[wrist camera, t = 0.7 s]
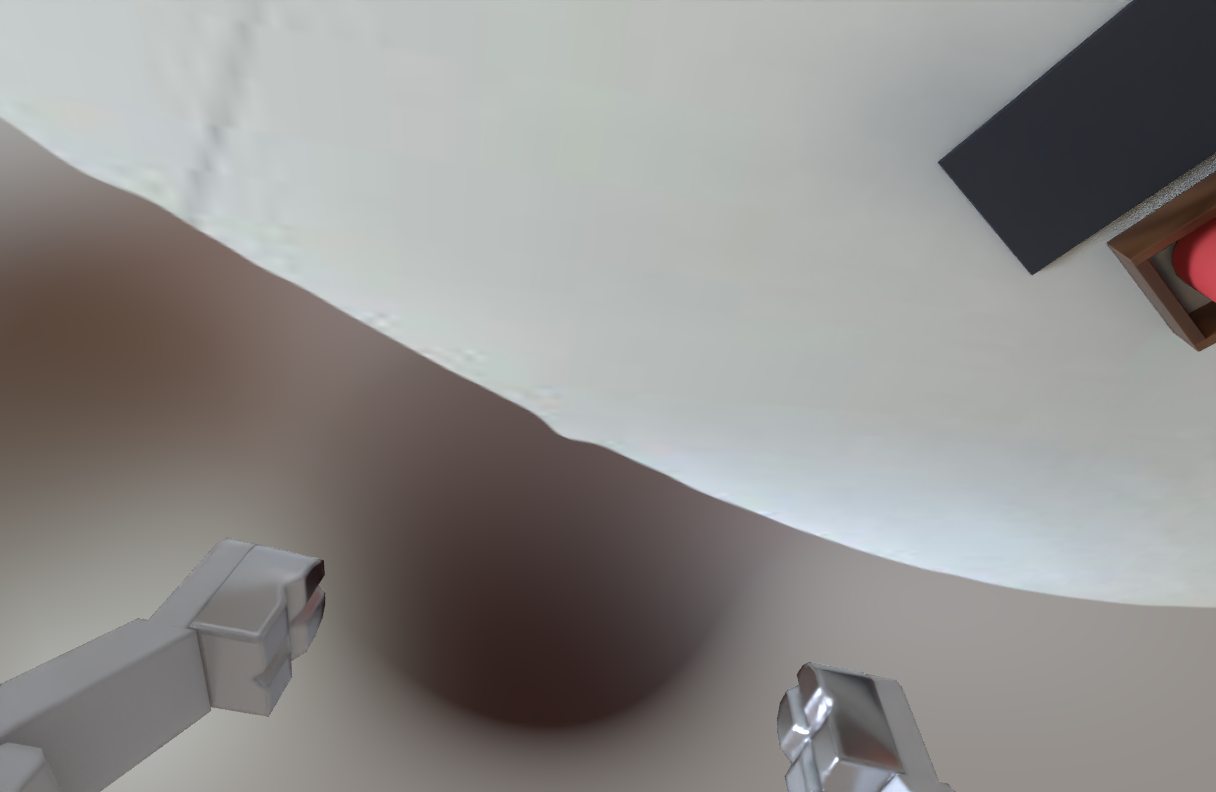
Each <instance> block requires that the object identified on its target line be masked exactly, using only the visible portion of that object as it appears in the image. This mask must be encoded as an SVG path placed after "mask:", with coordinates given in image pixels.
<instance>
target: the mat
mask: <svg viewBox="0 0 1216 792" xmlns="http://www.w3.org/2000/svg"><path fill="white" fill-rule="evenodd" d="M1215 152H1216V0H1133V1H1132V2H1131V3H1130V4H1128V5H1127V6H1126V7H1125V8H1124V9H1122V10H1121V11H1120V12H1119V13H1117V14H1116V15H1115V16H1114V17H1113V18H1111V19H1110V20H1109V21H1108V22H1107V23H1105V24H1104V25H1103V26H1102V27H1101V28H1099V29H1098V30H1097V31H1096V32H1095V33H1093V34H1092V35H1091V36H1090V37H1089V38H1087V39H1086V40H1085V41H1084V42H1082V43H1081V44H1080V45H1079V46H1078V47H1076V48H1075V49H1074V50H1073V51H1072V52H1070V53H1069V54H1068V55H1067V56H1066V57H1064V58H1063V59H1062V60H1061V61H1060V62H1058V63H1057V64H1056V65H1055V66H1054V67H1052V68H1051V69H1050V70H1049V71H1047V72H1046V73H1045V74H1044V75H1043V76H1041V77H1040V78H1039V79H1038V80H1037V81H1035V82H1034V83H1033V84H1032V85H1031V86H1029V87H1028V88H1027V89H1026V90H1025V91H1023V92H1022V93H1021V94H1020V95H1019V96H1017V97H1016V98H1015V99H1014V100H1012V101H1011V102H1010V103H1009V104H1008V105H1006V106H1005V107H1004V108H1003V109H1002V110H1000V111H999V112H998V113H997V114H996V115H994V116H993V117H992V118H991V119H990V120H988V121H987V122H986V123H985V124H984V125H982V126H981V127H980V128H979V129H978V130H976V131H975V132H974V133H973V134H971V135H970V136H969V137H968V138H967V139H965V140H964V141H963V142H962V143H961V144H959V145H958V146H957V147H956V148H955V149H953V150H952V151H951V152H950V153H949V154H947V155H946V156H945V157H944V158H943V159H941V160H940V161H939V162H938V163H939V165H940V166H941V167H942V168H943V169H944V171H945V172H946V173H947V174H948V175H949V177H950V178H951V179H952V180H953V181H954V183H955V184H956V185H957V186H958V187H959V189H960V190H961V191H962V192H963V193H964V195H965V196H966V197H967V198H968V199H969V201H970V202H971V203H972V204H973V206H974V207H975V208H976V209H977V210H978V212H979V213H980V214H981V215H982V216H983V218H984V219H985V220H986V221H987V222H988V224H989V225H990V226H991V227H992V228H993V230H994V231H995V232H996V233H997V234H998V236H999V237H1000V238H1001V239H1002V240H1003V242H1004V243H1005V244H1006V245H1007V246H1008V248H1009V249H1010V250H1011V251H1012V252H1013V254H1014V255H1015V256H1016V257H1017V258H1018V260H1019V261H1020V262H1021V263H1022V264H1023V266H1024V267H1025V268H1026V269H1027V271H1028V272H1029V273H1030V274H1031V275H1033V274H1035V273H1036V272H1038V271H1039V270H1041V269H1042V268H1044V267H1045V266H1047V265H1048V264H1050V263H1051V262H1053V261H1054V260H1056V259H1057V258H1059V257H1060V256H1062V255H1063V254H1065V253H1066V252H1068V251H1069V250H1071V249H1072V248H1074V247H1075V246H1077V245H1078V244H1080V243H1081V242H1083V241H1084V240H1085V239H1087V238H1088V237H1090V236H1091V235H1093V234H1094V233H1096V232H1097V231H1099V230H1100V229H1102V228H1103V227H1105V226H1106V225H1108V224H1109V223H1111V222H1112V221H1114V220H1115V219H1117V218H1118V217H1120V216H1121V215H1123V214H1124V213H1126V212H1127V211H1129V210H1130V209H1132V208H1133V207H1135V206H1136V205H1138V204H1139V203H1141V202H1142V201H1144V200H1145V199H1147V198H1148V197H1150V196H1151V195H1153V194H1154V193H1156V192H1157V191H1159V190H1160V189H1162V188H1163V187H1165V186H1166V185H1168V184H1169V183H1171V182H1172V181H1174V180H1175V179H1177V178H1178V177H1180V176H1181V175H1183V174H1184V173H1186V172H1187V171H1189V170H1190V169H1192V168H1193V167H1195V166H1196V165H1198V164H1199V163H1201V162H1202V161H1204V160H1205V159H1207V158H1208V157H1209V156H1211V155H1212V154H1214V153H1215Z"/></svg>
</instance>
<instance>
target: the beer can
mask: <svg viewBox="0 0 1216 792" xmlns="http://www.w3.org/2000/svg"><path fill="white" fill-rule="evenodd" d="M1172 265H1173V267H1174V270H1175V273H1176V275H1177V276H1178V277H1179V278H1180V279H1182V280H1183V281H1184V282H1185V283H1187V284H1188V285H1190V286H1191V287H1193V288H1194V289H1196V290H1197V291H1199V292H1200V293H1202V294H1203V295H1205V296H1206V297H1208V298H1209V299H1211V300H1212V301H1214V302H1215V303H1216V217H1215V218H1213V219H1211V220H1210V221H1208V222H1207V223H1205V224H1203V225H1202V226H1200V227H1199V228H1197V229H1195V230H1194V231H1192V232H1191V233H1189V234H1187V235H1186V236H1184V237H1182V238H1181V239H1179V240H1178V242H1177V244H1176V246H1175V248H1174V250H1173V258H1172Z"/></svg>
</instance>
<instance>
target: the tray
mask: <svg viewBox="0 0 1216 792" xmlns="http://www.w3.org/2000/svg"><path fill="white" fill-rule="evenodd" d="M1215 217H1216V171H1215V172H1214V173H1212V174H1211V175H1209V176H1208V177H1206V178H1205V179H1203V180H1202V181H1200V182H1199V183H1197V184H1196V185H1194V186H1193V187H1191V188H1190V189H1188V190H1186V191H1185V192H1183V193H1182V194H1180V195H1179V196H1177V197H1176V198H1174V199H1173V200H1171V201H1170V202H1168V203H1167V204H1165V205H1164V206H1162V207H1161V208H1159V209H1157V210H1156V211H1154V212H1153V213H1151V214H1150V215H1148V216H1147V217H1145V218H1144V219H1142V220H1141V221H1139V222H1138V223H1136V224H1135V225H1133V226H1132V227H1130V228H1129V229H1127V230H1125V231H1124V232H1122V233H1121V234H1119V235H1118V236H1116V237H1115V238H1113V239H1112V240H1110V241H1109V242H1107V245H1108V246H1109V247H1110V249H1111V250H1112V251H1113V253H1114V254H1115V255H1116V257H1117V258H1118V259H1119V261H1120V262H1121V263H1122V265H1123V266H1124V267H1125V269H1126V270H1127V271H1128V273H1129V274H1130V275H1131V277H1132V278H1133V279H1134V281H1135V282H1136V283H1137V285H1138V286H1139V287H1140V289H1141V290H1142V291H1143V293H1144V294H1145V295H1146V297H1147V298H1148V299H1149V301H1150V302H1151V303H1152V305H1153V306H1154V307H1155V309H1156V310H1157V311H1158V313H1159V314H1160V315H1161V317H1162V318H1163V319H1164V321H1165V322H1166V323H1167V325H1168V326H1169V327H1170V329H1171V330H1172V331H1173V332H1174V333H1175V334H1176V335H1177V336H1179V337H1180V338H1181V339H1183V340H1184V341H1185V342H1186V343H1188V344H1189V345H1190V346H1191V347H1193V348H1194V349H1195V350H1197V351H1201V350H1203V349H1205V348H1207V347H1209V346H1211V345H1213V344H1214V343H1216V303H1215V302H1214V301H1212V302H1210V303H1209V304H1207V305H1205V306H1203V307H1202V308H1200V309H1198V310H1196V311H1194V312H1193V313H1191V314H1189V315H1188V314H1187V312H1186V311H1185V310H1184V308H1183V307H1182V305H1181V304H1180V303H1179V301H1178V300H1177V298H1176V297H1175V296H1174V294H1173V293H1172V292H1171V290H1170V289H1169V287H1168V286H1167V285H1166V283H1165V282H1164V281H1163V279H1162V278H1161V276H1160V275H1159V274H1158V272H1157V271H1156V270H1155V268H1154V267H1153V265H1152V264H1151V263H1150V261H1149V260H1148V259H1149V258H1150V257H1152V256H1154V255H1155V254H1157V253H1158V252H1160V251H1162V250H1163V249H1165V248H1166V247H1168V246H1170V245H1171V244H1173V243H1174V242H1176V241H1178V240H1179V239H1181V238H1182V237H1184V236H1186V235H1187V234H1189V233H1191V232H1192V231H1194V230H1195V229H1197V228H1199V227H1200V226H1202V225H1203V224H1205V223H1207V222H1208V221H1210V220H1211V219H1213V218H1215Z"/></svg>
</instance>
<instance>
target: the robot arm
mask: <svg viewBox="0 0 1216 792" xmlns="http://www.w3.org/2000/svg"><path fill="white" fill-rule="evenodd" d="M324 575H325V571H324V561H323V560H321V559H316V558H313V557H309V556H304V555H300V554H296V553H292V552H288V551H284V550H280V549H276V548H271V547H267V546H263V545H259V544H254V543H249V542H245V541H241V540H236V539H232V538H226V539H224V540H222V541H221V542H219V543H217V544H216V545H215V546H214V547H213V548H212V549H211V550H210V551H209V553H208V554H207V555H206V556H205V557H204V558H203V559H202V560H201V561H200V563H199V564H198V565H197V566H196V567H195V568H194V569H193V570H192V572H191V573H190V574H189V575H188V576H187V577H186V578H185V579H184V581H183V582H182V583H181V584H180V585H179V586H178V587H177V588H176V590H175V591H174V592H173V593H172V594H171V595H170V596H169V597H168V598H167V600H166V601H165V602H164V603H163V604H162V605H161V606H160V607H159V609H158V610H157V611H156V612H155V613H154V614H153V615H152V616H151V618H150V619H149V620H145V619H139V618H138V619H136V620H134V621H131V622H130V623H127V624H125V625H123V626H121V627H119V628H117V629H115V630H113V631H110V632H108V633H106V634H104V635H102V636H100V637H98V638H96V639H94V640H92V641H90V642H87V643H86V644H83V645H81V646H79V647H77V648H75V649H73V650H71V651H69V652H66V653H65V654H62V655H60V656H58V657H56V658H54V659H52V660H50V661H48V662H46V663H44V664H41V665H39V666H37V667H35V668H33V669H31V670H29V671H27V672H25V673H22V674H20V675H18V676H16V677H14V678H12V679H10V680H8V681H6V682H4V683H2V684H0V792H100V791H102V790H103V789H104V788H106V787H107V786H109V785H110V784H111V783H113V782H114V781H115V780H117V779H118V778H119V777H121V776H122V775H124V774H125V773H126V772H128V771H129V770H131V769H132V768H133V767H135V766H136V765H137V764H139V763H140V762H141V761H143V760H144V759H146V758H147V757H148V756H150V755H151V754H152V753H154V752H155V751H157V750H158V749H159V748H161V747H162V746H163V745H165V744H166V743H168V742H169V741H170V740H172V739H173V738H174V737H176V736H177V735H179V734H180V733H181V732H183V731H184V730H185V729H187V728H188V727H190V726H191V725H192V724H194V723H195V722H196V721H198V720H199V719H201V718H202V717H203V716H205V715H206V714H207V713H209V712H210V711H211V707H213V708H220V709H225V710H231V711H237V712H243V713H249V714H255V715H261V716H267V717H269V715H270V714H271V712H272V710H273V709H274V707H275V705H276V703H277V702H278V700H279V698H280V697H281V695H282V693H283V692H284V690H285V688H286V686H287V685H288V683H289V681H290V680H291V678H292V667H291V661H292V660H294V659H295V658H297V657H299V656H300V655H302V654H304V653H305V652H307V650H308V648H309V646H310V645H311V643H312V641H313V639H314V638H315V636H316V633H317V631H318V628H319V625H320V623H321V620H322V617H323V613H324V607H325V593H324V591H323V590H322V589H321V588H320V587H319V585H318V584H319V583H320V581H321V580H322V578H323V577H324ZM797 677H798V682H799V685H797V686H795V687H793V688H791V689H788V690H787V691H786V693H785V695H784V696H783V698H782V700H781V702H780V706H779V711H778V717H777V733H778V739H779V745H780V749H781V750H782V752H783V753H784V755H785V756H786V757H787V759H788V760H789V761H790V763H791V766H790V768H789V769H788V771H787V773H786V775H785V780H786V786H787V791H788V792H955V791H954V790H953V789H952V788H951V786H950V785H949V784H947V783H943V782H939V780H938V777H937V775H936V772H935V770H934V767H933V764H932V762H931V759H930V757H929V754H928V752H927V749H926V747H925V744H924V742H923V739H922V736H921V734H920V731H919V729H918V726H917V724H916V721H915V718H914V716H913V713H912V711H911V708H910V706H909V703H908V700H907V698H906V695H905V693H904V690H903V688H902V686H901V685H900V684H899V683H898V682H897V681H896V680H893V679H887V678H883V677H879V676H874V675H869V674H864V673H863V672H857V671H853V670H848V669H843V668H837V667H832V666H827V665H822V664H817V663H812V662H808V663H806V664H804V665H803V666H802V668H801V669H800V670H799V672H798V674H797Z"/></svg>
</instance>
